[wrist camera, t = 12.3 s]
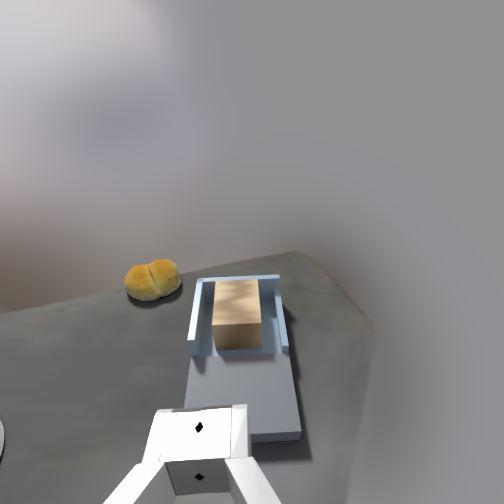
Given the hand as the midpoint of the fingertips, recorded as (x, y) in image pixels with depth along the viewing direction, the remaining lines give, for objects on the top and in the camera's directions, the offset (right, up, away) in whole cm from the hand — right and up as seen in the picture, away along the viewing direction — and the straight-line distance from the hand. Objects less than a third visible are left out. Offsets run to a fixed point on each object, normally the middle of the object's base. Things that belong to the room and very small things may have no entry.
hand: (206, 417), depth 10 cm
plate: (0, -11, +24) cm, 27 cm away
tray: (0, -5, +32) cm, 33 cm away
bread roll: (-15, 0, +41) cm, 43 cm away
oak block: (0, -5, +27) cm, 28 cm away
